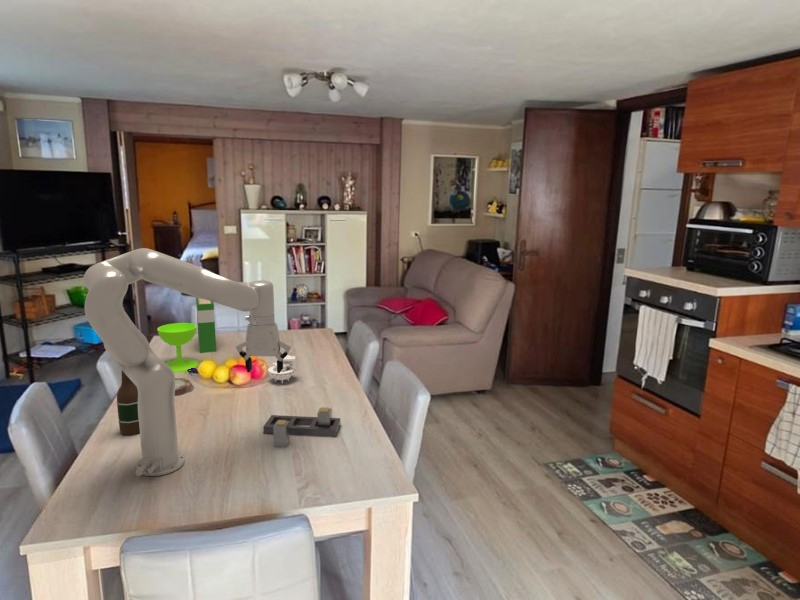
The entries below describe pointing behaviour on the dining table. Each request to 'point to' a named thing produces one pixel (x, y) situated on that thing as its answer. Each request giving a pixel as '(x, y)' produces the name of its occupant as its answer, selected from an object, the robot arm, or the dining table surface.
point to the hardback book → (206, 325)
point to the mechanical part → (287, 370)
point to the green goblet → (178, 343)
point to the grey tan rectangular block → (325, 417)
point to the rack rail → (302, 430)
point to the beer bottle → (128, 407)
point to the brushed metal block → (281, 433)
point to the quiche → (182, 386)
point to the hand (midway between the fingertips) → (264, 371)
